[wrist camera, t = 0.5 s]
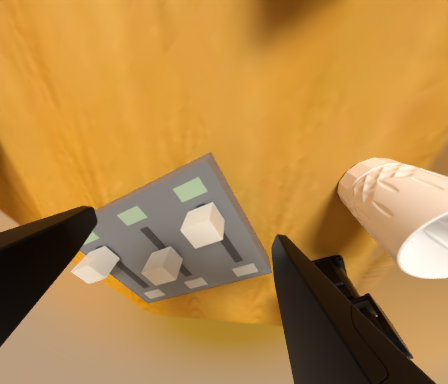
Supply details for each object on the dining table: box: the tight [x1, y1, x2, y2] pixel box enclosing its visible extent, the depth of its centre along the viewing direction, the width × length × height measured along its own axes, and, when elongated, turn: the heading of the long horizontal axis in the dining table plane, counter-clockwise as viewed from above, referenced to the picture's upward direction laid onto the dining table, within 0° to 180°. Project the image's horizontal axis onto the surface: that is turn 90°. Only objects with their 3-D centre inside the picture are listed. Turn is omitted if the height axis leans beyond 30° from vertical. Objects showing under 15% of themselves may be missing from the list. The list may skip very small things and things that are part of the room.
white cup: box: [337, 158, 448, 279], centre depth 16 cm, size 8×8×10 cm
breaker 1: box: [71, 246, 120, 284], centre depth 24 cm, size 3×4×3 cm
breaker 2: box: [180, 202, 225, 249], centre depth 19 cm, size 3×4×3 cm
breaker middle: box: [141, 246, 183, 286], centre depth 23 cm, size 3×4×3 cm
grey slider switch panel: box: [80, 152, 272, 303], centre depth 26 cm, size 20×25×3 cm
